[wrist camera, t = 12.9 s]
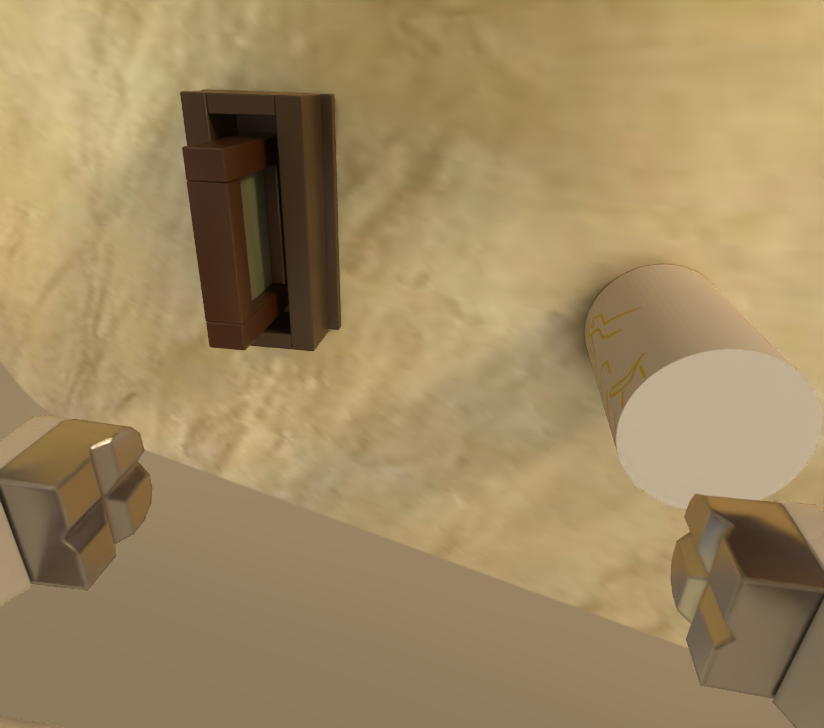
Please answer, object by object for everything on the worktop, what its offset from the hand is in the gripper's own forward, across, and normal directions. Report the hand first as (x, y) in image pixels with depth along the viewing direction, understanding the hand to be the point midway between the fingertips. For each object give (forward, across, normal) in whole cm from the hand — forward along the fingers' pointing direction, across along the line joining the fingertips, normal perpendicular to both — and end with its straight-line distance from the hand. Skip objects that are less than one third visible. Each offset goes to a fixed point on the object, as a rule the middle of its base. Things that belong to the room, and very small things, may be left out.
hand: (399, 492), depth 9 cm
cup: (+28, -11, +8) cm, 31 cm away
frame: (+27, +12, +3) cm, 30 cm away
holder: (+28, +12, +3) cm, 31 cm away
